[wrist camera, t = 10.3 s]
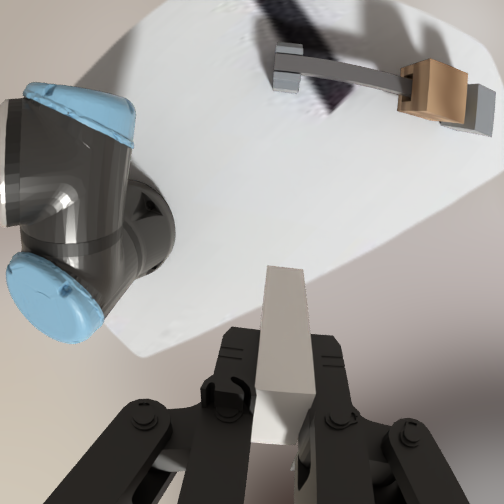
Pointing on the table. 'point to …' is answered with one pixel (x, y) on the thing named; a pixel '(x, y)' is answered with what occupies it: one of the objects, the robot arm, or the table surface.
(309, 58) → the rod rig
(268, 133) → the table surface
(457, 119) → the wooden block on rod
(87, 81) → the table surface
